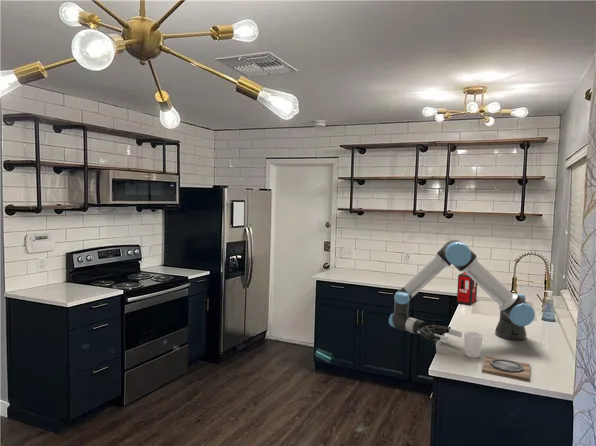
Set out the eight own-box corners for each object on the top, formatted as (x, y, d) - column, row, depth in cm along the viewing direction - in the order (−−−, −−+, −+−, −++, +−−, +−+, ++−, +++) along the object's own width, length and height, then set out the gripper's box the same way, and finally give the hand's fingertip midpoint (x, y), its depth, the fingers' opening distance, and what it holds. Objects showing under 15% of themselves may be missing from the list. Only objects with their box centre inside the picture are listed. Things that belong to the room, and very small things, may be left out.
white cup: (476, 352, 213) (478, 331, 212) (484, 358, 205) (485, 337, 204) (460, 352, 213) (461, 331, 212) (467, 358, 205) (468, 336, 204)
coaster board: (486, 358, 205) (486, 354, 205) (530, 366, 197) (530, 362, 197) (481, 371, 189) (482, 367, 189) (529, 381, 181) (529, 376, 181)
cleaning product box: (470, 305, 303) (471, 276, 301) (456, 303, 308) (458, 275, 306) (476, 301, 316) (477, 273, 315) (463, 299, 321) (464, 271, 320)
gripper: (429, 329, 240) (466, 339, 224) (401, 338, 223) (440, 350, 207) (429, 315, 239) (467, 325, 223) (402, 323, 222) (440, 334, 207)
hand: (454, 337), depth 215 cm, fingers open, 13 cm apart
